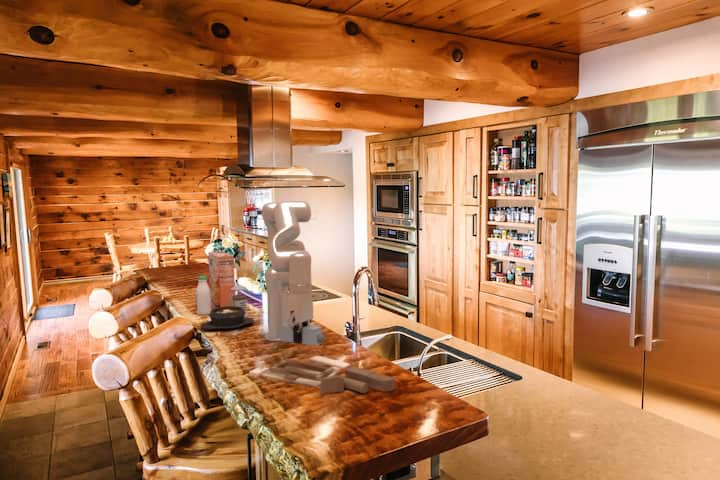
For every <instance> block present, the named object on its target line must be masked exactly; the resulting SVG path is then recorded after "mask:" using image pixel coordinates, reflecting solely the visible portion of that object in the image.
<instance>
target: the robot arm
mask: <svg viewBox="0 0 720 480" xmlns="http://www.w3.org/2000/svg"><path fill="white" fill-rule="evenodd" d="M261 215H262V216H261V217H262V219H263V222H264V224H265V227H266V228H265V229H266V232H267V256H268V260H269V261H270V265H271V266H270V267H267V269H266V270H265V272H264V280H265V285H266V297H267V327H268V328H267V329H268V331H267V332H268V333H266V334H265V335H264V339H265V340H267V341H269V342H281V341H280V329H281V325H283V324H285V323H288V326H289V327H290V328H291V329H292V331H293V342H292V343H294V344H299V345H301V343H302V332H300V331H301V329H303V328H304V327H306V326H308V325H311V323H312V320H314V302H313V295H312V256H311V254H310V252H308V251H307V250H306V248H305V245H304V243H303V241H301V240H298V238H299V236H300V234H301V228H300V224H299V223H308V222H310V220H311V217H312V209H311V206H310V204H309V203H308V201H306V200H284V201H275V202H274V201H273V202H267V203H264V204H263V205H262V208H261ZM285 288H289V290H288V291H289V293H287V292H286V291H285ZM296 324H297V325H298V327H297V326H296Z"/></svg>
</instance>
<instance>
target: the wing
mask: <svg viewBox="0 0 720 480" xmlns="http://www.w3.org/2000/svg"><path fill="white" fill-rule="evenodd" d="M309 361H310V362H311V361H313V362H314V363H318V364H323V365H327V366H331V367H334V368H337V369H347V368H348V367H351V363H348V362H343V361H341V360H337V359H332V358H328V357H325V356H321V355H315V356H313V357H310V358H309Z"/></svg>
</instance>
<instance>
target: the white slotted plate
mask: <svg viewBox="0 0 720 480" xmlns="http://www.w3.org/2000/svg"><path fill="white" fill-rule="evenodd" d="M265 365H266V362H265V361H264V360H261V361H260V362H258V367H256V368H254V369H252V370H250V371H249V372H248V374H249V375H252V376H256V377H259V376H262V375H263V374H264V373H266V372H268V371H270V367H266V366H265Z"/></svg>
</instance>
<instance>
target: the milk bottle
mask: <svg viewBox="0 0 720 480" xmlns="http://www.w3.org/2000/svg"><path fill="white" fill-rule="evenodd" d="M197 281H198V284H197V286H196V289H195V314H196V315H197V316H206V315H208V316H209V314H210V312H211V310H212V306H211V292H210V285H209V284H208V276H207V275H200V276H197Z"/></svg>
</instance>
